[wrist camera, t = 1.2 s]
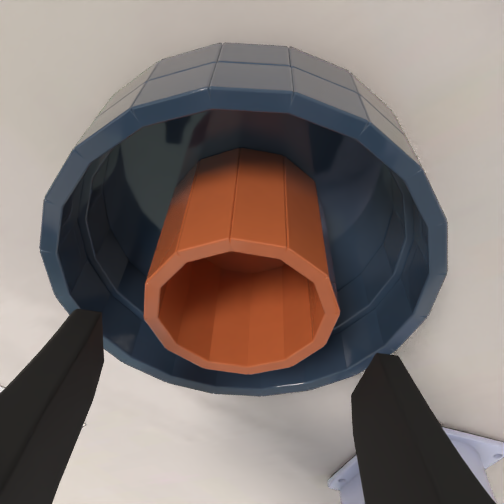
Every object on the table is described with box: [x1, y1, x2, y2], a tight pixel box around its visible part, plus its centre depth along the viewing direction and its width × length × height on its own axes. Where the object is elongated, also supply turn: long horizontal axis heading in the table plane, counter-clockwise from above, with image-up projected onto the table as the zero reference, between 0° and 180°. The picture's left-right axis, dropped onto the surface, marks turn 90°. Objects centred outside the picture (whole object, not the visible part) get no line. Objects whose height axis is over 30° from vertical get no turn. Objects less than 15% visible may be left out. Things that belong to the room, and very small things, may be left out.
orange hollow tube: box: [143, 148, 340, 375], centre depth 15 cm, size 6×6×5 cm
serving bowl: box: [39, 43, 448, 396], centre depth 16 cm, size 12×12×4 cm
